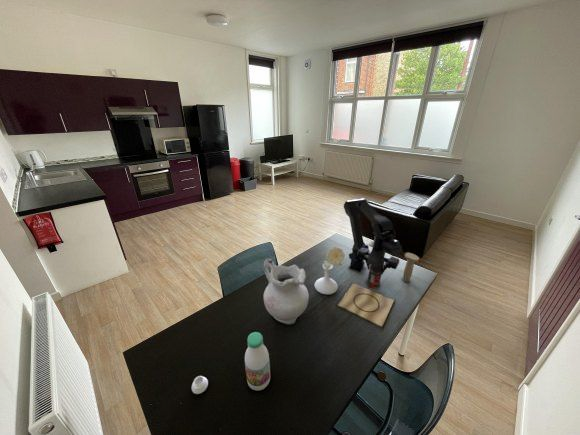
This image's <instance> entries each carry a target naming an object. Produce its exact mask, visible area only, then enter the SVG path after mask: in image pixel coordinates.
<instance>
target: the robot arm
mask: <svg viewBox="0 0 580 435" xmlns="http://www.w3.org/2000/svg"><path fill="white" fill-rule="evenodd" d="M343 209H344V213H345V215H347V216H348V218H349V223H350V228H351V233H352V239H353V245H352V248H351V250H352V252H350V253H349V254H348V258H349V259H350V266H348V269H349V270H352V271H355V272H357V273H361V272H362V271H363V270H364V269H365V264H366V267H367V270H368V271H369V270H370V265H373V266H376V267H377V266H378V265H383V264H384V266H383V270H382V273H381V276H382V275H384V273H385V271H386V270H387V269H392V270H397V268H398V266H399V265H400V261H401V260H400V258H398V257H397V256H398V255H400V254H401V253H402V251H403V247H402V245H401V244H400V241H399V240H397V239H395V238H396V237H397V236H396V231H395V229H394V225H393V222H392V221H391V220H390V218H387V217H386V216H384V215H381V214H380V213H378V212H377V211H376V210H375V209H374V208H373V206H371V205H370V204H369V202H368V200H367V199H366V198H358V199H351V200H346V201H344V204H343ZM361 212H362V213H363V215H364V216H365V217H366V218H367V219H368V220H369V221H370V223H371V227H372V229H373V231H372V234H374V237H373V238H374V239H373V246H372V249H371V251H370V248H369V245H368V244H366V243H365V242H364V237H363V231H362V227H361V221H360V213H361ZM386 252H387V253H388V254H389V255H390V257H386Z"/></svg>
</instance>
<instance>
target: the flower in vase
mask: <svg viewBox="0 0 580 435" xmlns="http://www.w3.org/2000/svg"><path fill="white" fill-rule="evenodd" d="M344 260H345V252H344V251H343V249H342V248H339V247H336V246H335V247H333V248H330V249H328V251H327V253H326V260H323V262H324V263H322V268H323V270H324V276H323V277H320V278H318V279H316V281H315V282H314V288H315V290H316V291H317V292H318V293H319V294H322V295H333V294H334V293H336V292H337V291H338V289H339V288H338V287H339V286H338V283H337V282H336V281H335V280H334V279H333V278H331V277H330V273H331V270H332V269H333V267H334V266H337V267H338V266H342V265H343V264H342V263H343V261H344Z"/></svg>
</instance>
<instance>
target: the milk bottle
mask: <svg viewBox="0 0 580 435" xmlns="http://www.w3.org/2000/svg"><path fill="white" fill-rule="evenodd" d="M246 339H247V340H246V341H247V349H246V350H245V353H244V366H245V374H246V375H245V376H246V381H247V386H248V387H249V388H250V389H251V390H253V391H262V390H264V389H265V388H266V387H267V386H268V385H269V383H270V381H271V365H270V364H271V363H270V354H269V351H268V349H267V347H266V345H265V344H264V337H263V335H262V333H260V332H258V331H253V332H251V333H250V334H248V336H247V338H246Z"/></svg>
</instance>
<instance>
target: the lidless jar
mask: <svg viewBox="0 0 580 435" xmlns="http://www.w3.org/2000/svg"><path fill="white" fill-rule="evenodd" d="M208 386H209V379H207V377H205V376H203V375H198V376H196V377H195V378H194V379H193V382H192V384H191V392H192V393H193V394H195V395H199V394H203V392H205V391H206V390H207V388H208Z"/></svg>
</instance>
